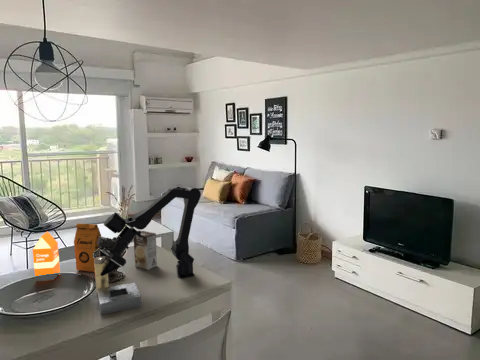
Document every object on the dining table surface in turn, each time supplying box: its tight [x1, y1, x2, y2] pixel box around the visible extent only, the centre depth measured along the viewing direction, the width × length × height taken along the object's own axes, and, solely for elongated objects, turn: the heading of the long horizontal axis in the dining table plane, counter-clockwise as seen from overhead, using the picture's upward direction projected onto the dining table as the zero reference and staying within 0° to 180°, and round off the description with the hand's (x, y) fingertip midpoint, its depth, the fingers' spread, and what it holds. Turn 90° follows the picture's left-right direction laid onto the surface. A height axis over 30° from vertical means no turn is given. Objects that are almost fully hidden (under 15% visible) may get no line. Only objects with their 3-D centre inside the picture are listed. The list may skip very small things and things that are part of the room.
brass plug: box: [94, 256, 110, 295], centre depth 152 cm, size 5×5×14 cm
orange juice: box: [32, 231, 61, 277], centre depth 168 cm, size 8×9×20 cm
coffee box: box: [133, 230, 158, 271], centre depth 180 cm, size 9×6×16 cm
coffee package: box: [73, 223, 102, 273], centre depth 176 cm, size 10×12×22 cm
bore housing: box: [97, 282, 142, 315], centre depth 143 cm, size 14×14×4 cm
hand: (97, 272), depth 151 cm, fingers open, 9 cm apart
